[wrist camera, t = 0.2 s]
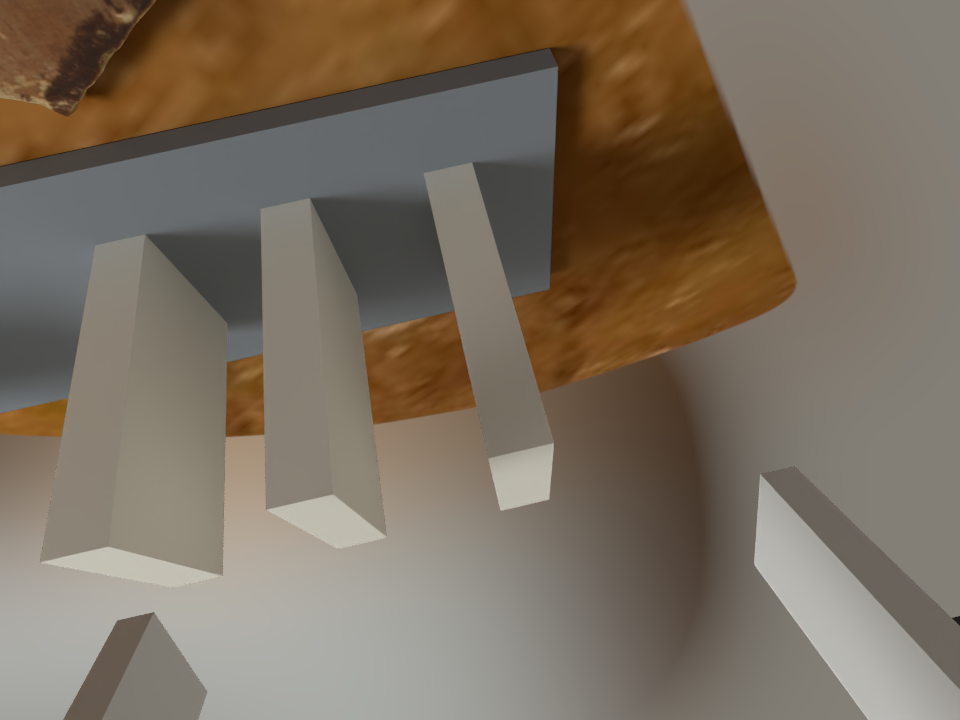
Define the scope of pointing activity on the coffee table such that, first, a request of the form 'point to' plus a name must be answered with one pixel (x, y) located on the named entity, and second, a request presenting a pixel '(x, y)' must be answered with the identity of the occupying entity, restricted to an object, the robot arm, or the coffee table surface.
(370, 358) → the coffee table surface
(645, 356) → the coffee table surface
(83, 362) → the ivory domino
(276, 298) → the ivory domino
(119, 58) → the coffee table surface
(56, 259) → the slate runway
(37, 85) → the shard
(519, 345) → the ivory domino
